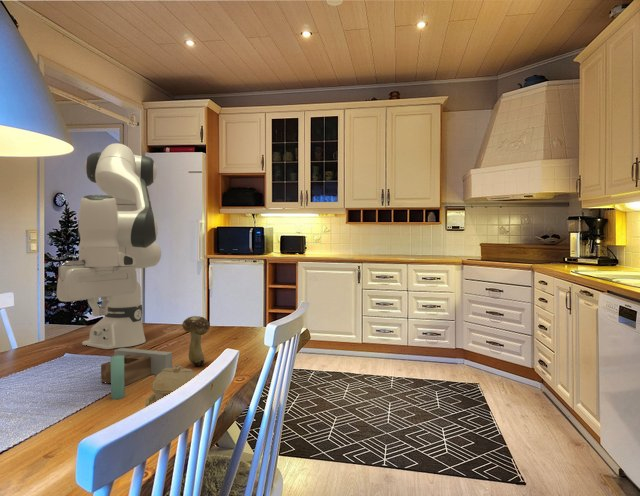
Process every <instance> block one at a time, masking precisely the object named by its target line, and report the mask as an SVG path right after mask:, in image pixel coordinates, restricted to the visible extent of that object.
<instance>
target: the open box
mask: <svg viewBox="0 0 640 496" xmlns="http://www.w3.org/2000/svg"><path fill="white" fill-rule="evenodd" d="M150 375H152V374H151V357H146V356H135V355H126V356H124V384H125V386H128V385H131V384H132V383H135V382H137V381H140V380H141V379H143V378H146V377H147V376H150ZM101 382H106V383H111V360H110V361H107V362H104V363H101V364H100V383H101ZM106 383H105V384H106Z"/></svg>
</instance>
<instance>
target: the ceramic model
mask: <svg viewBox="0 0 640 496" xmlns="http://www.w3.org/2000/svg"><path fill="white" fill-rule="evenodd" d="M196 375H198V374H197V373H195V372H194V370H193V369H191V368H185V367H184V368H182V366H181V365H180V364H175V365H174V366H172V368H165V369H163V371H162V372H161V373H159V374H158V375H155V376H156V377H155V378H154V379H153V382H152V384H151V390H152V392H153V393H152V394H151V395H150V396H149V397H147V398H146V399H145V403H144V404H145V405H144V406H145V407H146V406H148V405H150V404H152V403H154V402H156V401H157V400H159V399H161V398H163V397H164V396H166V395H168V394H170V393H171V392H173V391H175V390H176V389H178V388H179V387H181V386H182V385H184V384H185V383H187V382H188V381H190V380H191V379H192V378H194V377H195V376H196Z"/></svg>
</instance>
